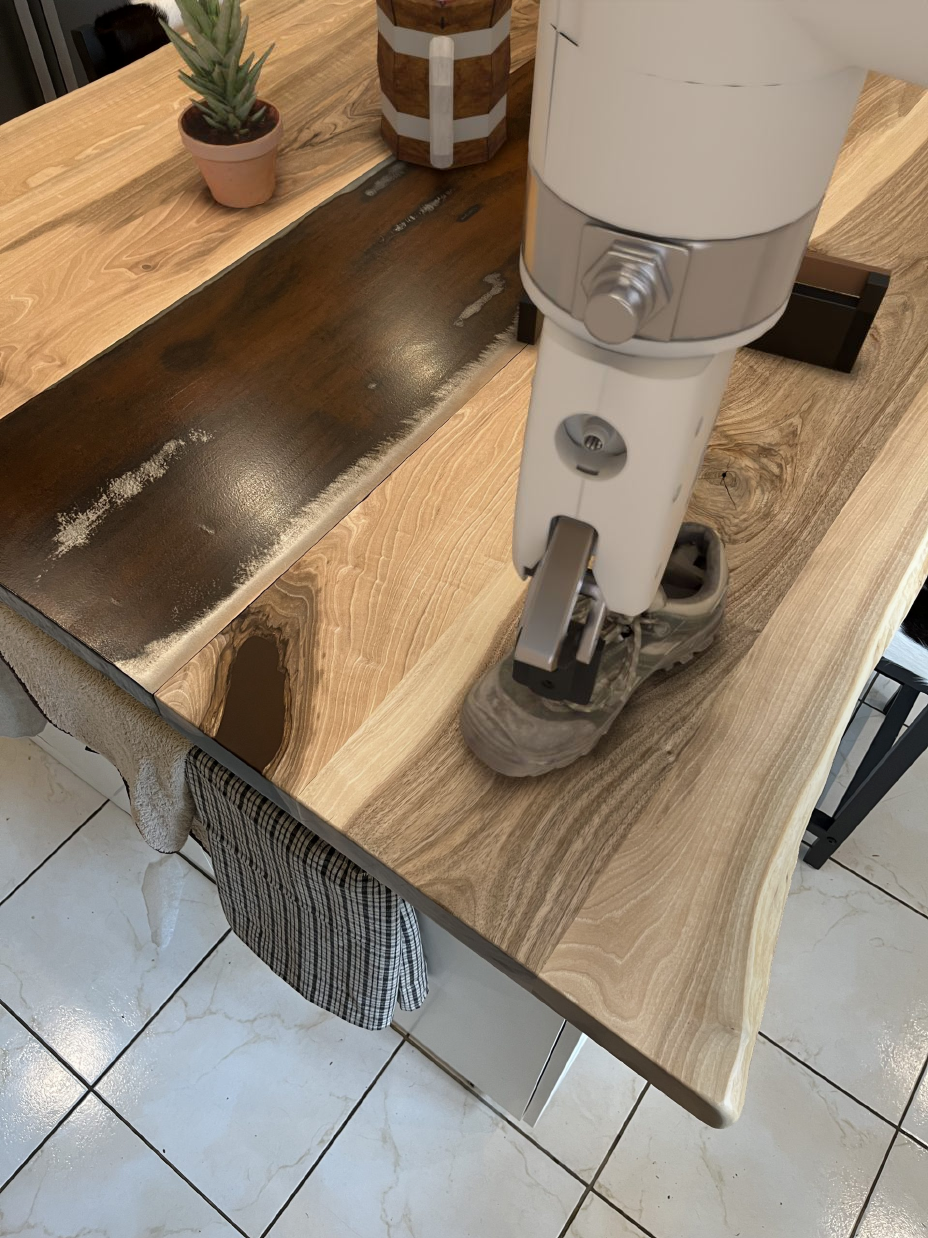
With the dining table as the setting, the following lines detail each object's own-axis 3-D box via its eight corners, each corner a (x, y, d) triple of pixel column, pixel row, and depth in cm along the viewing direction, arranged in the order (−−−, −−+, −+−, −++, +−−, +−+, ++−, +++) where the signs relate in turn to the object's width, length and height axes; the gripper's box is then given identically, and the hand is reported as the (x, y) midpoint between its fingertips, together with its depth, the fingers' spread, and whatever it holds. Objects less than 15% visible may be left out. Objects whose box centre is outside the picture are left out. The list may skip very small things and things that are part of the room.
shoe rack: (854, 356, 80) (892, 269, 73) (836, 427, 75) (876, 340, 68) (551, 279, 86) (561, 192, 79) (516, 340, 81) (523, 252, 74)
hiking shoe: (405, 687, 58) (492, 644, 47) (630, 541, 68) (742, 479, 57) (485, 815, 58) (589, 800, 47) (697, 650, 68) (821, 608, 57)
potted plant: (213, 228, 90) (147, -78, 69) (181, 180, 94) (110, -120, 74) (310, 202, 92) (274, -100, 72) (274, 157, 97) (230, -138, 77)
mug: (384, 103, 104) (376, -55, 92) (505, 106, 104) (514, -51, 92) (372, 201, 93) (362, 36, 80) (509, 204, 93) (519, 40, 81)
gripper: (729, 483, 20) (607, 825, 34) (853, 105, 29) (717, 498, 44) (401, 388, 21) (417, 753, 36) (620, 58, 31) (563, 452, 45)
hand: (583, 611), depth 39 cm, fingers open, 7 cm apart
